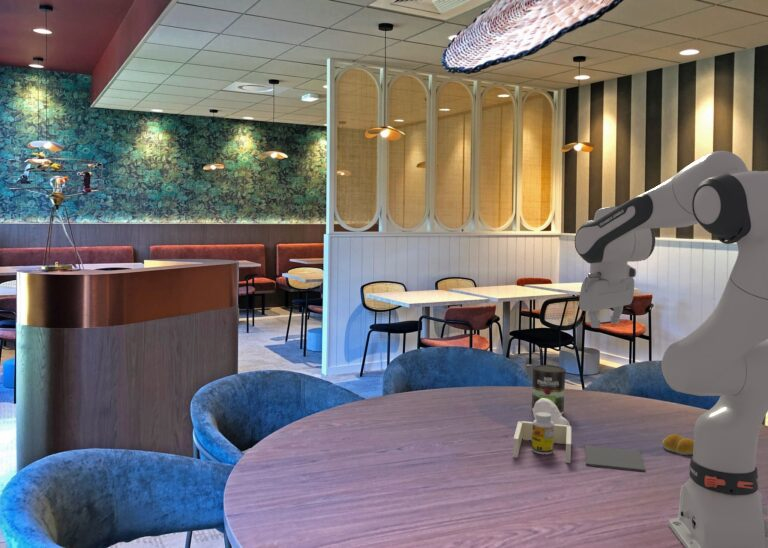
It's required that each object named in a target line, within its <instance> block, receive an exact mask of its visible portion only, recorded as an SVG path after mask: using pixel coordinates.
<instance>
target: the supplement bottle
mask: <svg viewBox="0 0 768 548" xmlns="http://www.w3.org/2000/svg"><path fill="white" fill-rule="evenodd" d="M532 422H533V432H532V441H531V449H532V451H533V452H534V453H536V454H537V455H538V454H539V455H544V454H545V455H550V454H553V452H554V444H555V443H554V423H553V422H552V421H551V414H549V413H545V412H539V413H536V420H535V419H534V420H533V421H532Z"/></svg>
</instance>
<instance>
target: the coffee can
mask: <svg viewBox="0 0 768 548" xmlns="http://www.w3.org/2000/svg"><path fill="white" fill-rule="evenodd" d="M566 371H567V370H566V369H565V368H564V367H561V366H558V365H549V364H539V365H534V366H532V388H531V389H532V390H531V392H532V395H531V412H533V408H534V405H535V403H536V402H537V401H538V400H539V399H541V398H547V399H549V400H551V401H552V402H553V403H554V404H555V405H556V406H557V408H558V410H559V411H560V413H561V414H562V415H563V414H564V413H565V410H564V409H565V386H566V385H565V383H566Z"/></svg>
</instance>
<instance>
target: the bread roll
mask: <svg viewBox="0 0 768 548" xmlns="http://www.w3.org/2000/svg"><path fill="white" fill-rule="evenodd" d="M661 445H662V447H663V448H664V449H665V450H666V451H668V452H672V453H676V454H679V455H681V456H682V455H683V456H691V455H692V456H693V447H694V439H692V438H688V437H683V436H682V435H679V434H677V433H672V434H668V435H667V436H666V437H665V438H664V439H663V440H662V443H661Z"/></svg>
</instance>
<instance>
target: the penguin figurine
mask: <svg viewBox="0 0 768 548" xmlns="http://www.w3.org/2000/svg"><path fill="white" fill-rule="evenodd" d="M539 412H545V413H549V414H551V421H552V422H553V423H554V424H559V425H570V421H569V420H568V419H566V418H565V417H564V416H563V414H561V413H560V411H559V410H558V408H557V406H556V405H555V404H554V403H553V402H552V401H551V400H549V399H547V398H541V399H539V400H538V401H537V402H536V403H535V405H534V408H533V411H532V413H533V414H532V415H533V417H534V420H536V413H539ZM570 426H571V425H570Z"/></svg>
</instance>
